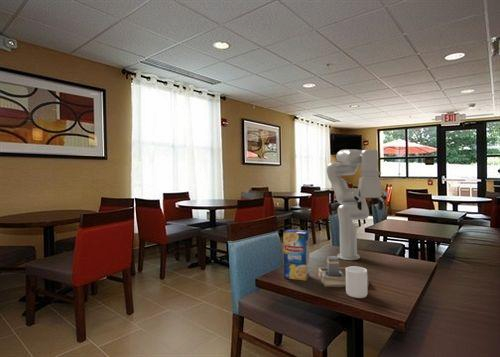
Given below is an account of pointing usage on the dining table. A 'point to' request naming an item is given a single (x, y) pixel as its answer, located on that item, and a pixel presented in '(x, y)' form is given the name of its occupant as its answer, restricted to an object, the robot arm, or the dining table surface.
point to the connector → (332, 266)
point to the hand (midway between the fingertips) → (370, 209)
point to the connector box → (334, 278)
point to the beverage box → (296, 254)
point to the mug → (356, 281)
